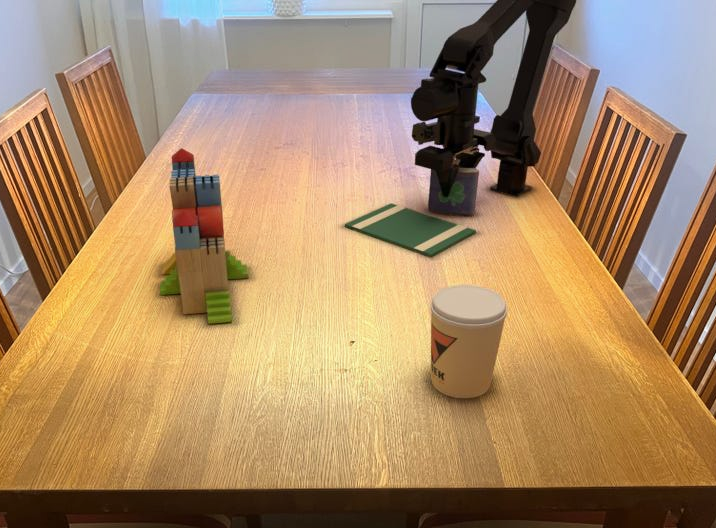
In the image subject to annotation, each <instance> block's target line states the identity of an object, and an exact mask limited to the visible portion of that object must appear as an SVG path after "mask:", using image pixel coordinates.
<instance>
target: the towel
mask: <svg viewBox="0 0 716 528" xmlns="http://www.w3.org/2000/svg"><path fill="white" fill-rule="evenodd" d="M344 228H347V229H350V230H353V231H355V232H359V233H361V234H363V235H367V236H369V237H371V238H372V237H373V238H375V239H378V240H381V241H383V242H387V243H389V244H392V245H394V246H398V247H400V248H403V249H406V250H409V251H412V252H414V253H417V254H420V255H422V256H426V257H429V258H433V257H435V256H436V255H438V254H440V253H442V252H444V251H446V250H448V249H449V248H451V247H453V246H455V245H456V244H458V243H460V242H462V241H464V240H466V239H468V238H469V237H472V236H473V235H475V234H476V233H477V230H476V229H474V228H470V227H468V226H465V225H462V224H458V223H455V222H452V221H448V220H445V219H442V218H439V217H436V216H433V215H430V214H426V213H423V212H420V211H416V210H414V209H410V208H407V207H405V206H402V205H400V204H394V203H389V204H387V205H384V206H381V207H380V208H377V209H375V210H373V211H371V212H369V213H367V214H366V213H365V214H363V215H362V216H360V217H357V218H355V219H353V220H351V221H348V222H346V223H344Z"/></svg>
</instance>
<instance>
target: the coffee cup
mask: <svg viewBox="0 0 716 528" xmlns="http://www.w3.org/2000/svg"><path fill="white" fill-rule="evenodd" d="M429 307H430V308H429V309H430V312H431V314H430V379H431V383H432V385H433V387H434V388H435V389H436V391H438V392H439V393H441V394H443V395H445V396H448V397H451V398H456V399H475V398H477V397H480V396H482V395H484V394H485V393H487V392H488V390H489V389H490V387H491V384H492V380H493V376H494V371H495V366H496V361H497V358H498V353H499V348H500V343H501V340H502V335H503V329H504V325H505V320H506V317H507V315H508V306H507V303H506V301H505V299H504V298H503V296H502V295H501V294H499V292H497V291H495V290H493V289H491V288H487V287H486V286H485V287H484V286H480V285H474V284H455V285H450V286H449V285H448V286H445V287H443V288H441V289H439V290H438V291H436V292H435V294H434V295H433V298H432V299H431V301H430V304H429Z"/></svg>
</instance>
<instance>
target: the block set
mask: <svg viewBox="0 0 716 528" xmlns="http://www.w3.org/2000/svg"><path fill="white" fill-rule="evenodd" d="M171 168H172V169H171V171H170V172H171V173H170V178H169V182H168V183H169V185H168V186H169V193H170V200H171V206H172V209H171V218H172V219H171V220H172V221H171V222H172V231H173V240H174V253H173V254H172V255H171V256H170V257H169V258H168V259H167V261H166V262H165V263H163V265H162V269H161V270H162V271H161V274H162V276H164V275H165V280H164V279H163V280H161V281H160V287H159V291H160V295H161V296H163V295H164V296H165V295H178V294H180V297H181V304H182V312H183V315H192V314H203V313H206V315H207V323H208V324H220V323H221V324H222V323H230V322H233V316H232V306H231V297H230V290H229V280H240V279H248V278H249V269H248V264H242V263H243V262H242V260H241V259H238V260H237V257H236V255H231V251H229V250H226V244H225V230H224V215H223V204H222V193H221V180H220V175H219V174H212V175H210V174H205V175H196V166H195V156H194V154H193V153H192V152H190V151H188V150H187V149H185V148H179V149H178V150H176V151H175V153H173V154H172V155H171Z"/></svg>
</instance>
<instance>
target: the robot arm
mask: <svg viewBox="0 0 716 528" xmlns="http://www.w3.org/2000/svg"><path fill="white" fill-rule="evenodd" d="M576 4H577V0H496V1H495V2H494V3H493V4H492V5H490V7H489V8H488V9H487V10H486V11H485V13H484V14H482V15H481V16H480V18H479V19H477V20H476V21H475V22H474V23H472V24H469V25H465V26H463V27H461V28H459V29H457V31H455V32H454V33H452V34H451V35H449V36H448V37H447V39H446V40H445V41H444V43H443V45H442V48H441V50H440V52H439V54H438V56H437V59H436V60H435V63H434V64H433V66H432V68H431V70H430V73H429V77H430V78H422V79H421V80H420V86H419V87H417V88H416V89H415V90H414V91H413V94H412V96H411V97H410V108H411V111H412V114H413V115H414V117H415V118H416V119H418V120H419V121H421V122H417V123H413V124H412V129H411V138H412V140H413V141H414V142H416V143H417V144H418V146H421V145H424V144H426V143H432V142H433V145H434V146H433V145H428V146H425V147H422V148H421V149H418V151H416V152H415V153H414V166H416V167H417V166H418V167H421V168H425V169H429V170H431V169H432V170H435V172H436V175H437V177H438V181H439V185H440V189H441V192H442V196H443V197H448V196H449V194H450V191H451V189H452V186H453V183H454V181H455V178H456V175H457V173H458V170H459V168H475V169H477V167H478V166H479V164H480V162H481V161H482V160H483V158H484V157H485V156H486V153H485V152H490V158H491V159H495V160H499V165H498V174H497V180H496V183H495V184H493V185H491V186H490V187H489V190H491V191H494V192H499V193H502V194H506V195H508V196H513V197H518V196H520V195H523V194H524V193H526V192H529V191H530V190H532V188H533V185H529V184H526V183H527V175H528V169H529V168H531V167H532V168H533V167H536V165H537V164H538V163H539V161H540V158H541V155H542V152H541V150H540V148H539V146H538V144H537V143H536V141H535V136H536V132H537V128H536V127H537V126H536V124H535V123H536V122H535V119H534V110H535V106H536V102H537V100H538V96H539V93H540V90H541V85H542V81H543V79H544V76H545V72H546V68H547V64H548V63H549V59H550V54H551V51H552V48H553V44H554V42H555V41H554V40H555V38H556V36H557V34H559V32H560V31H561V30H562V29H563V28H564V27H565V26H566V25H567V24H568V23H569V20H570V18H571V15H572V13H573V10H574V8H575V6H576ZM524 14H525V17H526V20H527V26H528V34H527V38H526V41H525V44H524V47H523V48H524V49H523V51H522V55H521V58H520V62H519V66H518V70H517V74H516V77H515V80H514V84H513V88H512V91H511V96H510V99H509V102H508V105H507V108H506V109H505V110H504V111H503V112H502V113H501V115H499V114H496V115H495V116H494V118H493V121H492V125H491V129H490V131H485V130H481V129H476V128H475V125H476V124H478V123H480V119H481V116H479V115H476V113H477V103H478V94H479V93H478V92H479V85H480V84H484V83H486V82H487V78H486V76H485V75H484V74H483V73H482V72H483V70H484V68H485V67H486V66H487V64H488V63H489V61H490V60H491V59H492V57H493V56H494V50H495V45H496V44H497V42H498V41H499V40H500V39H501V37H503V36H504V35H505V33H506V32H508V31H509V29H510V28H511V27H512V26H513V25H514V24H515V23H516V22H517V21H518V20H519V19H520V18H521V17H522V15H524ZM432 120H436V121H435V122H430V123H426V122H428V121H432ZM439 146H442V147H439ZM479 146H482V147H483V150H484V151H485V152H481V151H480V148H479ZM455 159H460V162H459V164H458V165H457V164H455Z"/></svg>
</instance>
